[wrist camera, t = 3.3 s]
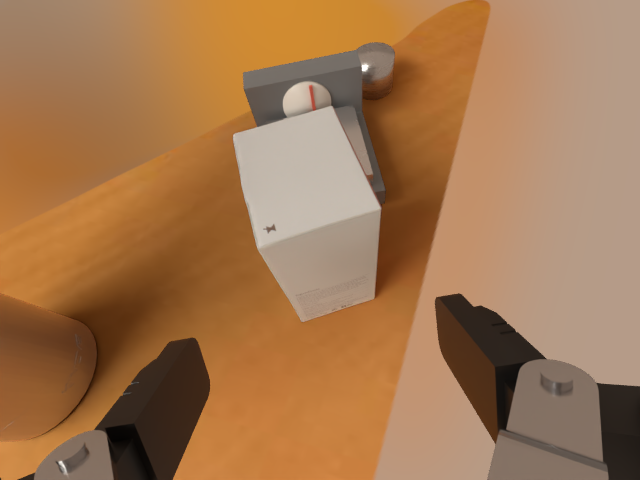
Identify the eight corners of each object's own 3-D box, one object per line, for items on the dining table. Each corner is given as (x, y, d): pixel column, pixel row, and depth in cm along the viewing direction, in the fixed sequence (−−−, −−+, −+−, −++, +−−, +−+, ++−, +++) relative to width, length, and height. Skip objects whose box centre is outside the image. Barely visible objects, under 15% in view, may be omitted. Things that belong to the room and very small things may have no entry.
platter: (273, 201, 29) (270, 193, 28) (267, 131, 34) (264, 121, 33) (372, 183, 29) (373, 174, 28) (353, 114, 34) (353, 104, 32)
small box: (376, 299, 27) (385, 209, 15) (301, 324, 26) (253, 251, 15) (344, 220, 30) (333, 101, 19) (279, 240, 30) (228, 132, 19)
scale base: (269, 224, 31) (247, 176, 25) (262, 129, 38) (243, 72, 31) (384, 203, 31) (389, 149, 25) (357, 110, 37) (356, 49, 31)
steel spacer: (358, 103, 38) (357, 71, 34) (351, 79, 40) (349, 47, 37) (396, 95, 38) (399, 62, 34) (387, 72, 40) (389, 39, 36)
